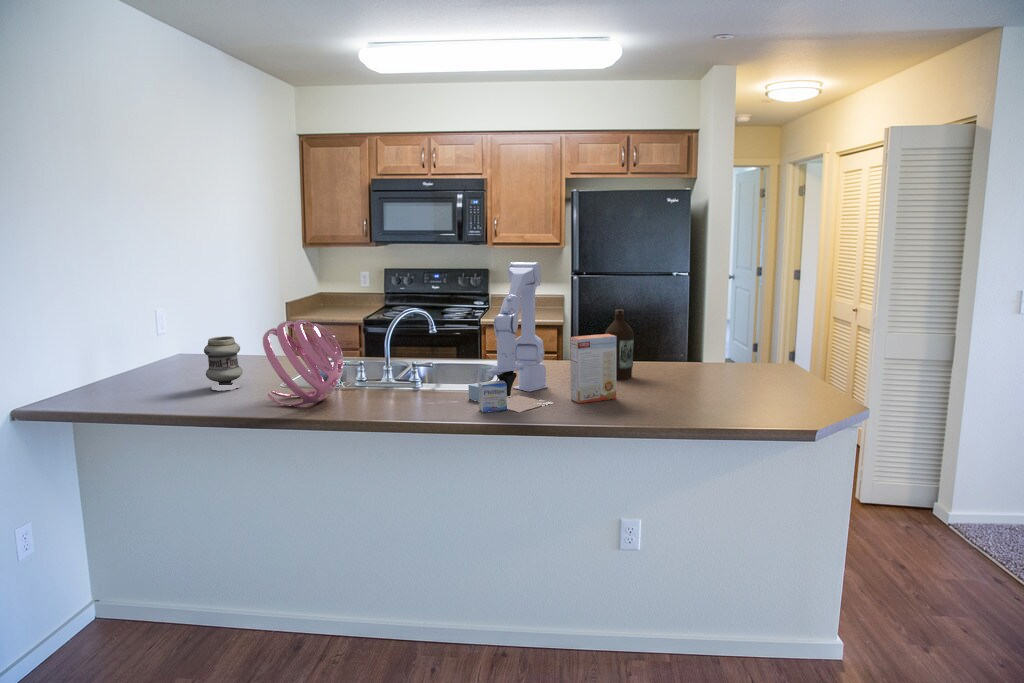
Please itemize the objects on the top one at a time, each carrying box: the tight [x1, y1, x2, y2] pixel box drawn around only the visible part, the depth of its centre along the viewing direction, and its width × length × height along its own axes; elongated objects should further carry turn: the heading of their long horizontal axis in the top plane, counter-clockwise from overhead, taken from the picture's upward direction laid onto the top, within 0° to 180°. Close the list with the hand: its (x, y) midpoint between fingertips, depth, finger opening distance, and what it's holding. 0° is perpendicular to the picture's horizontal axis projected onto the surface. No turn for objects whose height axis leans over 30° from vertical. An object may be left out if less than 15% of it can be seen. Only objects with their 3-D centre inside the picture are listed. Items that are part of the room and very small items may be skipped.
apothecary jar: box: [203, 335, 244, 385], centre depth 250 cm, size 12×12×18 cm
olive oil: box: [604, 309, 635, 381], centre depth 260 cm, size 11×11×25 cm
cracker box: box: [569, 333, 617, 404], centre depth 229 cm, size 14×6×21 cm, turn 111°
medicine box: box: [477, 380, 508, 413], centre depth 218 cm, size 8×4×9 cm, turn 106°
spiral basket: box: [262, 319, 344, 407], centre depth 229 cm, size 28×28×27 cm
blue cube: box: [468, 382, 480, 402], centre depth 232 cm, size 5×5×5 cm
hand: (506, 395), depth 222 cm, fingers closed
